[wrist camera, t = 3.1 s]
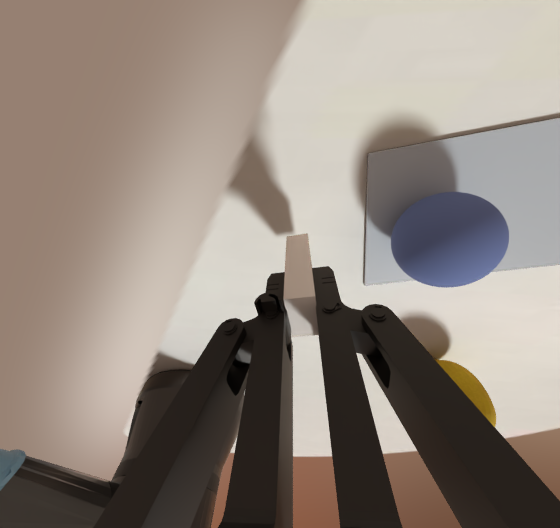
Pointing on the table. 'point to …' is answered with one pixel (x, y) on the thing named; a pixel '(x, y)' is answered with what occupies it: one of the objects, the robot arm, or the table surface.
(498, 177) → the plate
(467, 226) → the ball
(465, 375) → the lemon
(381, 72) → the table surface
